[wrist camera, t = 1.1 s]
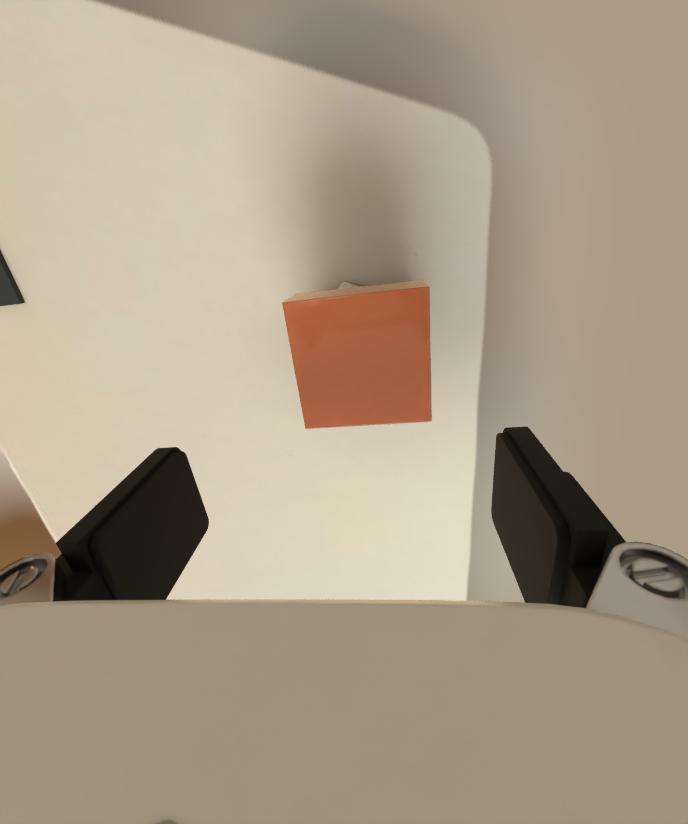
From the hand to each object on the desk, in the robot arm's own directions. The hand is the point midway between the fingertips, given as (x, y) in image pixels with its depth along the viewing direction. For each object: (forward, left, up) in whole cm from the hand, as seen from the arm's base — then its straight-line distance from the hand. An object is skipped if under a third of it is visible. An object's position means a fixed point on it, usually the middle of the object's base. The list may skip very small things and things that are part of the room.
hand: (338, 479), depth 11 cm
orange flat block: (0, 0, -13) cm, 13 cm away
